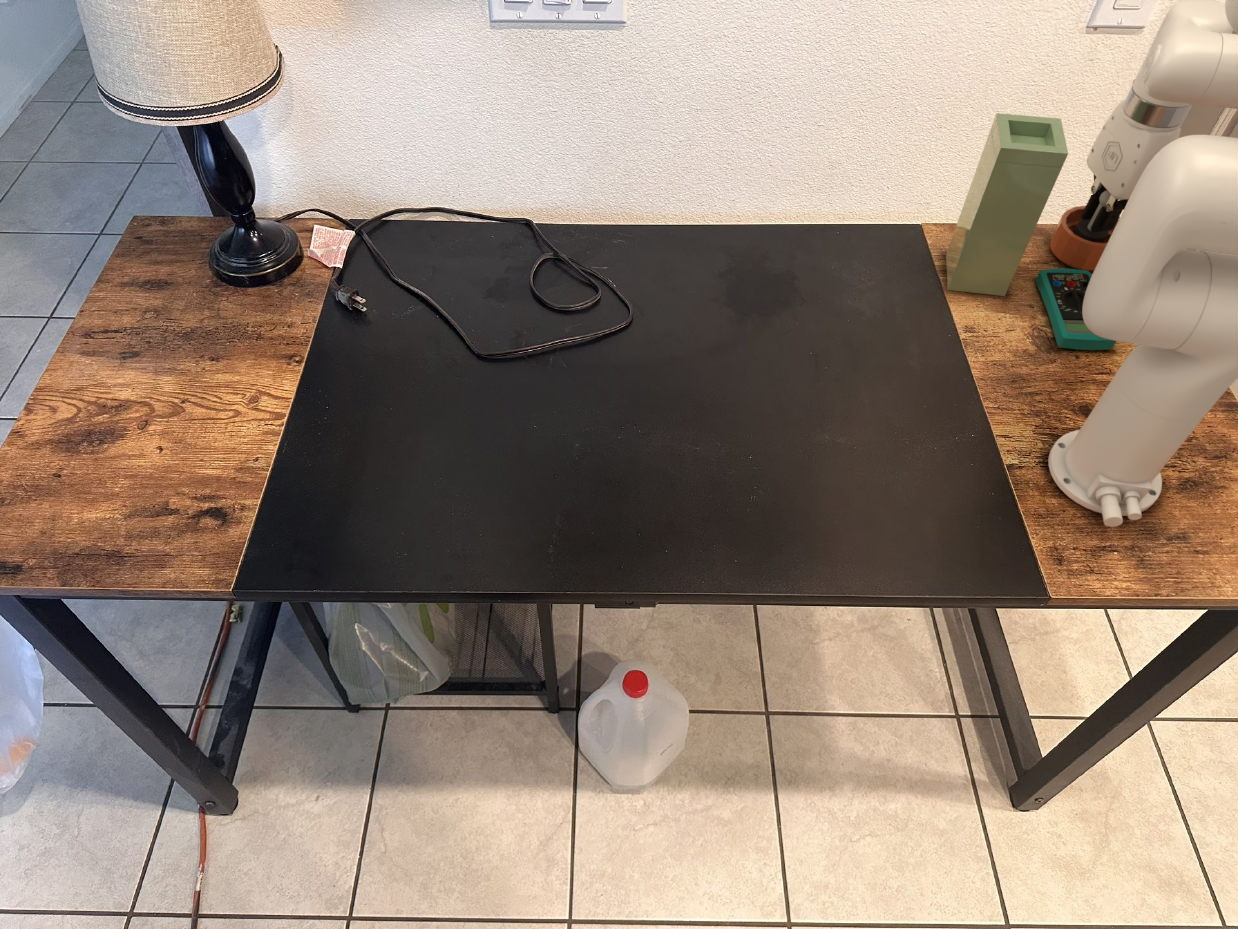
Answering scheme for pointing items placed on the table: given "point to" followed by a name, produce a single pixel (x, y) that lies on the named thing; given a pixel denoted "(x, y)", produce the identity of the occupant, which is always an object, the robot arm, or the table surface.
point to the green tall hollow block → (1005, 202)
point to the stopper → (1085, 225)
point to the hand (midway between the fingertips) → (1096, 223)
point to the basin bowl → (1076, 242)
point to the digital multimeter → (1069, 308)
